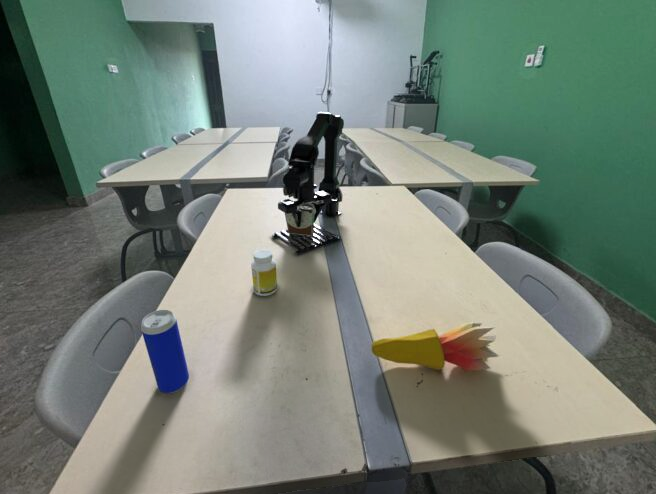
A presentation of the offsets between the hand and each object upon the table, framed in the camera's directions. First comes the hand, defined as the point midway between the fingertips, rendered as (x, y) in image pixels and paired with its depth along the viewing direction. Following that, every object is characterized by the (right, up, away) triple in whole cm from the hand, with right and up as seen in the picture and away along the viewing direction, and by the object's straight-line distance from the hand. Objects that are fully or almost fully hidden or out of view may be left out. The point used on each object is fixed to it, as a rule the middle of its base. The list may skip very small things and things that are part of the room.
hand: (306, 224), depth 110 cm
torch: (+30, -28, -45) cm, 61 cm away
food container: (-1, -3, +2) cm, 3 cm away
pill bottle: (-8, -17, -26) cm, 32 cm away
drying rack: (0, -5, +2) cm, 5 cm away
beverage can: (-19, -29, -52) cm, 63 cm away
